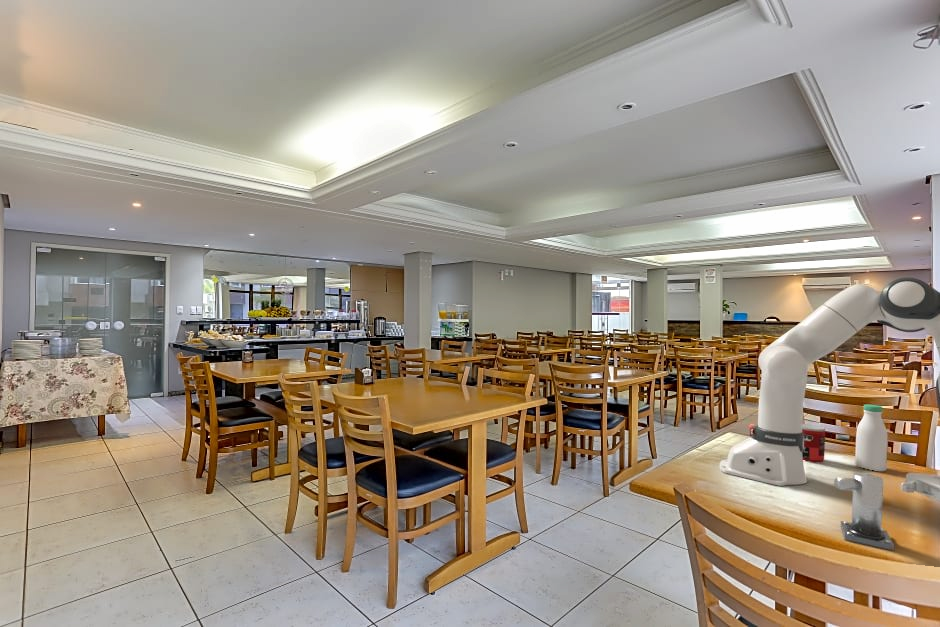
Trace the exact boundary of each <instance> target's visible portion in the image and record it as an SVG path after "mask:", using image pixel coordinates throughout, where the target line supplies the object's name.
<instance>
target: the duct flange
mask: <svg viewBox="0 0 940 627" xmlns="http://www.w3.org/2000/svg"><path fill="white" fill-rule="evenodd" d="M851 527H852V522H848V521H846V520H845V521H842V520H840V528H841V533H842V535H843V538H844V540H845V541H848V542H852V543H856V544H861V545H865V546H870V547H875V548H879V549H883V550H887V549H888V551H892V550H893V551H895V550H894V549H895V545H894V543H893V540H892V538H891V536H890V534H889V533H888V531H887V530H886V529H884V528H881V536H880V537H871V536H866V535H863V534H860V533H857V532H855V531H854V530H852V528H851Z"/></svg>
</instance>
